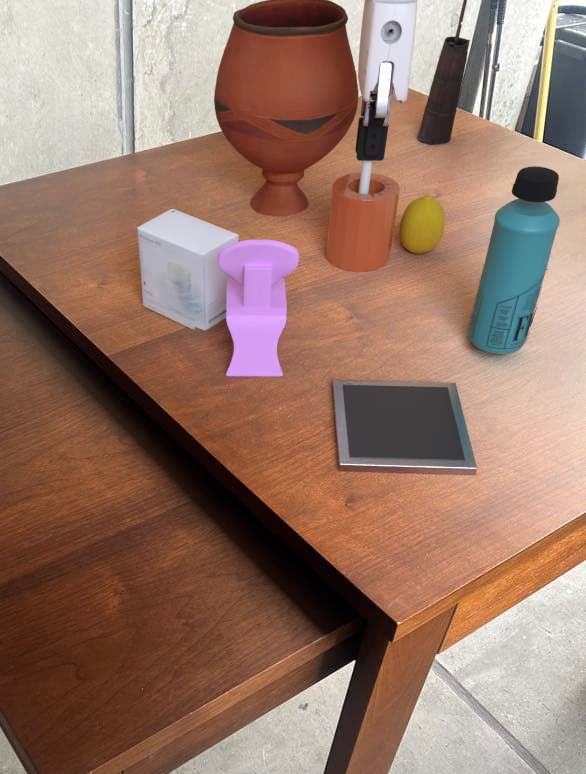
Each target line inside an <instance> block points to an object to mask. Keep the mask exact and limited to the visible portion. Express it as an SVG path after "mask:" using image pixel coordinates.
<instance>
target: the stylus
mask: <svg viewBox="0 0 586 774" xmlns="http://www.w3.org/2000/svg"><path fill="white" fill-rule="evenodd" d="M370 109H371V108H370ZM373 162H374V161H361V168H360V169H361V170H360V173H361V176H360V184H359V192H358V193H360V194H368V191H369V184H370V177H371V173H372V167H373Z"/></svg>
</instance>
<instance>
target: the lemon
mask: <svg viewBox="0 0 586 774" xmlns="http://www.w3.org/2000/svg"><path fill="white" fill-rule="evenodd" d="M445 226H446V215H445V211H444V208H443V206H442V204H441V203H440V202H439V200H437V199H435V198H433V197H431V195H429V194H425V195H424V196H421V197H418V198H415V199H414V200H412V201H411V202H409V204H408V205H407V206H406V208H405V210H404V212H403V214H402V217H401V220H400V223H399V238H400V242H401V244H402V245H403V247H404V248H405V249H406V250H407V251H408V252H411V253H412V254H413V253H414V254H417V255H420V254H421V255H422V254H427V253H430V251H432V250H434V249H435V248H436V247H437V246H438V244H439V243H440V241H441V239H442V237H443V235H444V232H445V228H446V227H445Z"/></svg>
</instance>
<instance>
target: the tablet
mask: <svg viewBox="0 0 586 774" xmlns="http://www.w3.org/2000/svg"><path fill="white" fill-rule="evenodd" d="M331 388H332V389H331V392H332V394H331V395H332V405H333V415H334V416H333V417H334V427H335V428H334V430H335V441H336V443H335V444H336V454H337V467H338V471H339V472H360V473H361V472H363V473H364V472H365V473H400V474H431V475H464V476H465V475H467V476H475V475H476V474H477V472H478V471H477V470H478V466H477V462H476V458H475V454H474V449H473V447H472V443H471V442H472V441H471V438H470V435H469V431H468V426H467V422H466V419H465V415H464V411H463V406H462V403H461V399H460V395H459V391H458V387H457V383H456V382H431V381H429V382H428V381H389V380H387V381H383V380H344V379H343V380H341V379H339V380H338V379H336V380H335V379H333V380H332V383H331Z"/></svg>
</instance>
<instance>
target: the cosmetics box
mask: <svg viewBox="0 0 586 774" xmlns="http://www.w3.org/2000/svg"><path fill="white" fill-rule="evenodd" d="M136 229H137V231H136V233H137V241H138V243H137V244H138V254H139V269H140V281H141V283H140V284H141V296H142V307H145V308H146V309H148V310H151V311H153V312H155V313H157V314H159V315H161V316H163V317H165V318H167V319H169V320H172V321H174V322H176V323H178V324H180V325H181V326H184V327H185V328H188V329H190V330H192V331H195V330H196V328H197V329H199V330H202V331H207V330H209V329H210V328H212V327H214V326H215V325H217V324H218V323H220V322H222V321H224V320H226V307H227V279H233V278H231V277H230V276H229V275H227V274H225V273H224V272H222V271H221V269H220V268H219V265H218V253H219V252H220V250H221V249H222V248H224V247H226V246H228V245H230V244H233V243H236V242H240V235H239V234H238V233H235V232H233V231H232V230H228V229H226V228H223V227H220V226H217V225H215V224H213V223H211V222H208V221H205V220H203V219H200V218H198V217H195V216H193V215H190V214H188V213H185V212H183V211H180V210H178V209H176V208H170V209H168V210H167V211H164V212H163V213H161V214H159V215H157V216H155V217H153V218H152V219H150V220H148V221H146V222H144V223H143V224H141V225H139V226H137V228H136Z"/></svg>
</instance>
